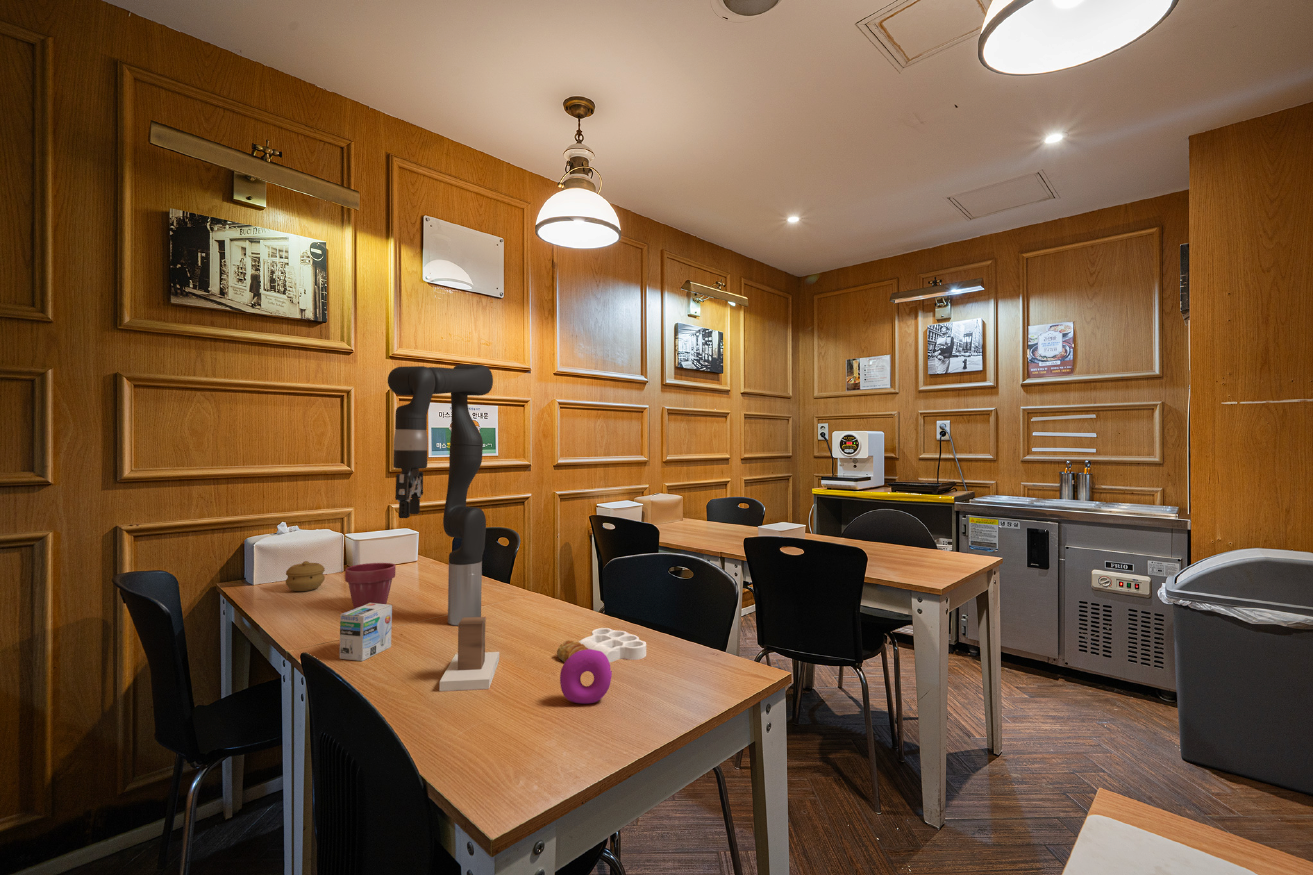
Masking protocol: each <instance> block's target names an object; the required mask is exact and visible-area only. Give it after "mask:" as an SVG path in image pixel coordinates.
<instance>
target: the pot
mask: <svg viewBox="0 0 1313 875" xmlns="http://www.w3.org/2000/svg"><path fill="white" fill-rule="evenodd" d="M325 571H326V570H325V567H324V565H323V564H321V563H318V562H310V561H307V560H305V561H303V562H301V563H297V564H293V565H291V566H290V567H289V568H287V570H286V572H285V575H286V576H287V578H286V579H285V584H286V586H287V588H289V590H291V591H294V592H306V591H307V592H308V591H312V590H315V589H317V588H319V587H321V586H322V584H323V583H324V581H325V578H326V576H325V575H324V572H325Z"/></svg>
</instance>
